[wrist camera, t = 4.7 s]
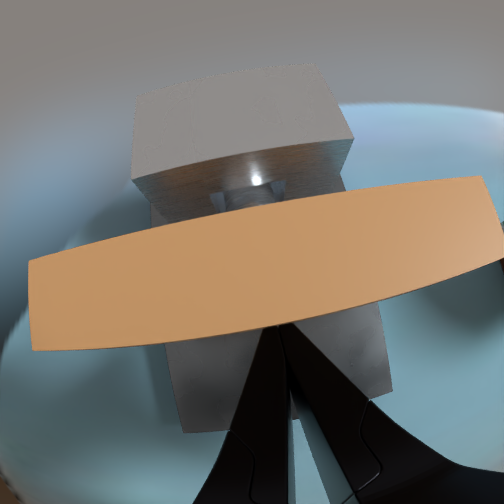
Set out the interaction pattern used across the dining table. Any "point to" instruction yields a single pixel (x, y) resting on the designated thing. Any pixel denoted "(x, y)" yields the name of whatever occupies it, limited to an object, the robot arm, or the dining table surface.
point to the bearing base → (235, 352)
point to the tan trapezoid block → (261, 264)
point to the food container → (503, 260)
